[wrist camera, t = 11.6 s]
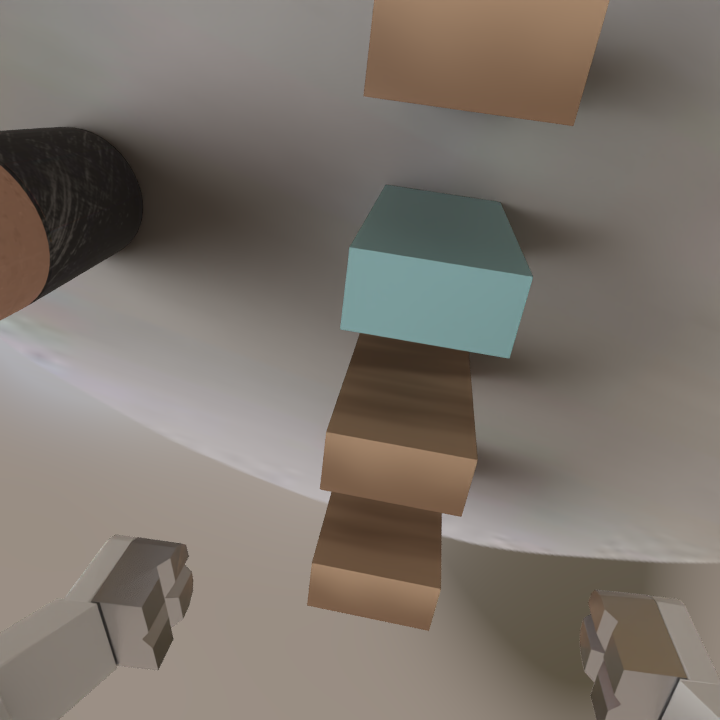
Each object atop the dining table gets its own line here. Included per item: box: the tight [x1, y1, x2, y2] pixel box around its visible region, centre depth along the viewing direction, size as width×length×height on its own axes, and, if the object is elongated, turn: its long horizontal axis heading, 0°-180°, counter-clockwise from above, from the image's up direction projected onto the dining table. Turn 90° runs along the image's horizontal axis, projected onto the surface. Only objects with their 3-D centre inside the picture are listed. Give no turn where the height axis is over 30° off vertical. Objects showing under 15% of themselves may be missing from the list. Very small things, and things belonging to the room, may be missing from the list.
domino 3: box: [320, 333, 478, 517], centre depth 27 cm, size 3×6×12 cm, turn 83°
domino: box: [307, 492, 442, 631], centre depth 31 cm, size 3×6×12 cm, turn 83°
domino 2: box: [340, 185, 533, 358], centre depth 23 cm, size 3×6×12 cm, turn 83°
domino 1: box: [364, 0, 609, 126], centre depth 20 cm, size 3×6×12 cm, turn 83°
